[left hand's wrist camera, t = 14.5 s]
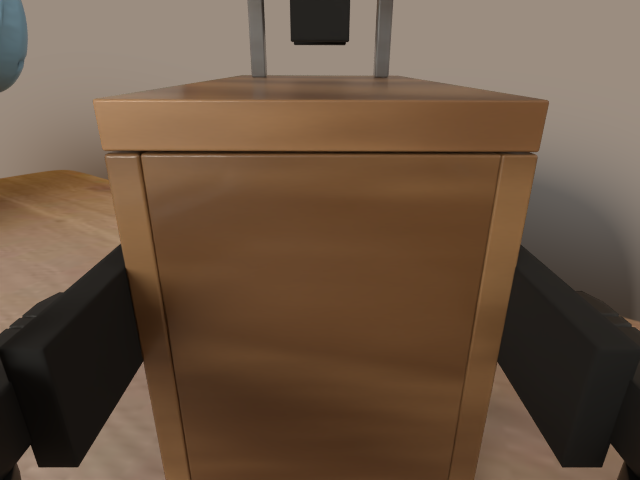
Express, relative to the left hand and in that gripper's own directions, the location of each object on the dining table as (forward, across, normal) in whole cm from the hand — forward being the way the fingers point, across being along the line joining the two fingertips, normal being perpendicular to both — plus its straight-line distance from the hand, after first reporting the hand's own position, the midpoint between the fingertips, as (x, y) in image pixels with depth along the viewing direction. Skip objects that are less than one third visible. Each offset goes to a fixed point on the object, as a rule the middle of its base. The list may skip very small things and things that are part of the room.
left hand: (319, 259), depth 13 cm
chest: (+5, 0, -7) cm, 9 cm away
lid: (+5, 0, +4) cm, 7 cm away
